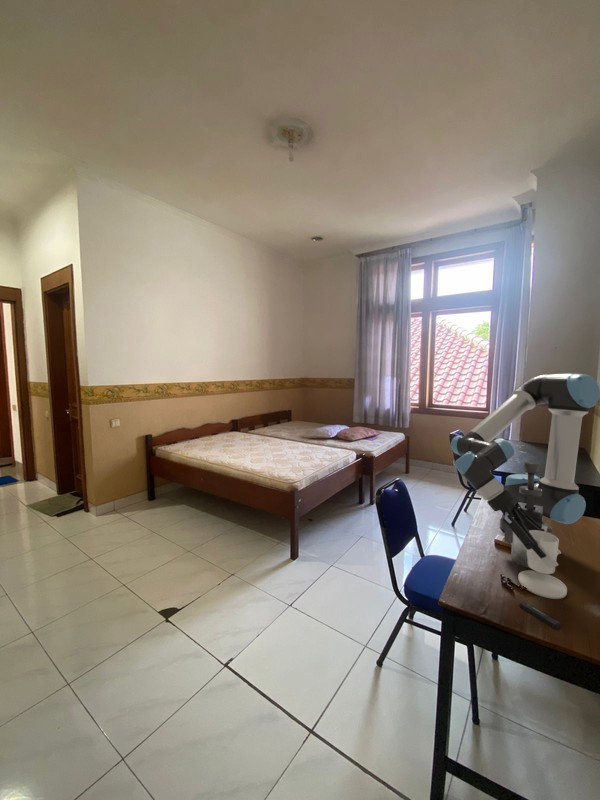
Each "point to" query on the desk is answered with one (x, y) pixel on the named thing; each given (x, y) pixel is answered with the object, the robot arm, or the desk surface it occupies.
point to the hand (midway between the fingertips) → (555, 560)
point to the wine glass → (530, 484)
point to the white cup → (549, 545)
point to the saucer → (542, 584)
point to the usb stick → (540, 615)
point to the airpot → (537, 514)
